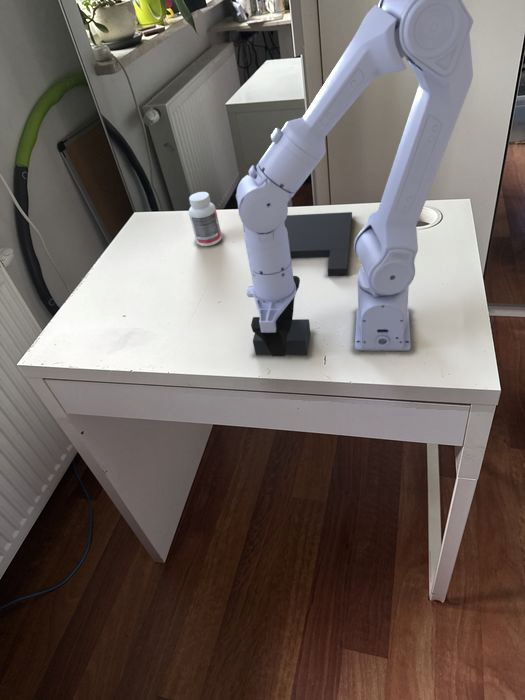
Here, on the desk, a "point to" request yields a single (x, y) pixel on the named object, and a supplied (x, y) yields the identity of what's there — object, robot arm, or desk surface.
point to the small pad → (289, 339)
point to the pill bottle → (204, 219)
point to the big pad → (321, 238)
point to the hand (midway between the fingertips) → (282, 337)
